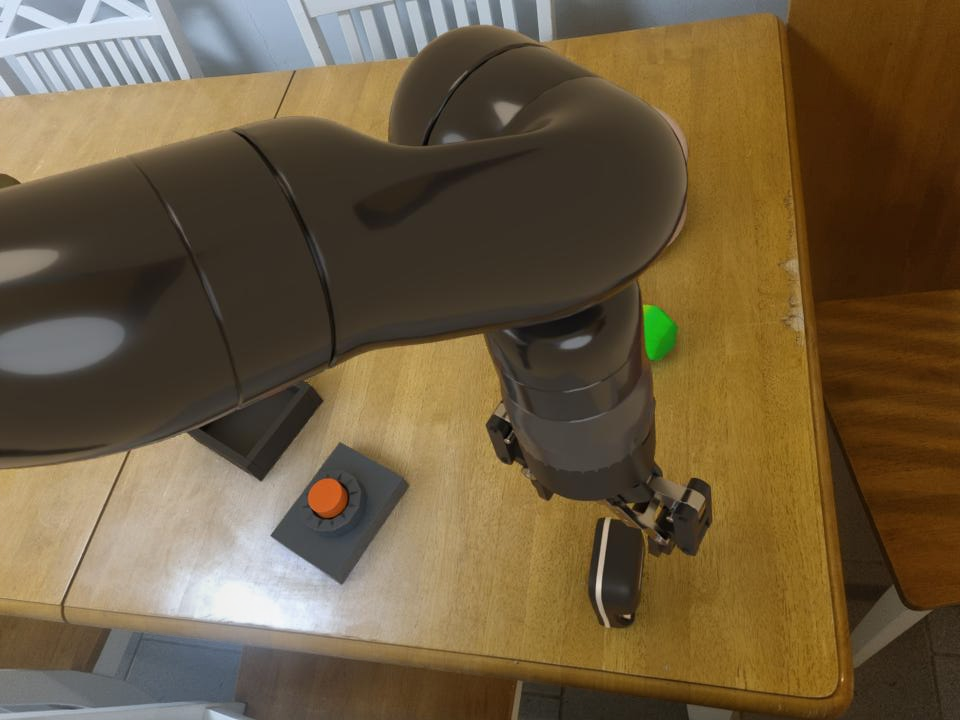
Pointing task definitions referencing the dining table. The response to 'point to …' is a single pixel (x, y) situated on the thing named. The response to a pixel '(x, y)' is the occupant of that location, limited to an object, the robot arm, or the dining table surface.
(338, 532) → the switch box
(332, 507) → the power button
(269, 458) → the dock
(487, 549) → the dining table surface
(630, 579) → the battery charger
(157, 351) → the robot arm
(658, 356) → the apple
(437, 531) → the dining table surface
